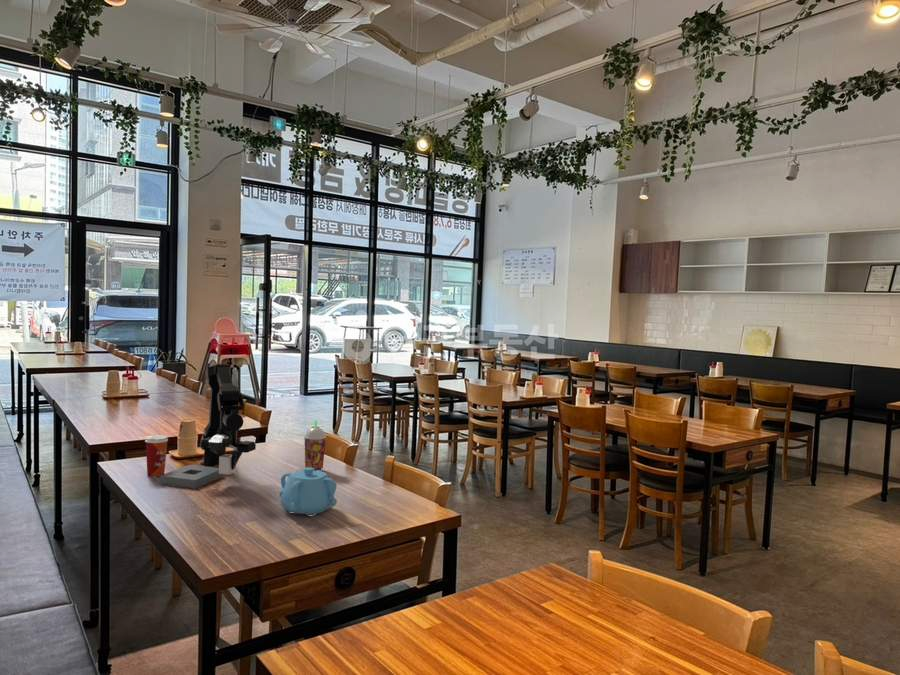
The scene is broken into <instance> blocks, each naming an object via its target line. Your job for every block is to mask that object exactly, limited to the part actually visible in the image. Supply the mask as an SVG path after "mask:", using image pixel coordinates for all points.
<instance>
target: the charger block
mask: <svg viewBox="0 0 900 675" xmlns="http://www.w3.org/2000/svg"><path fill="white" fill-rule="evenodd" d="M231 460H232V455H231V453H229V454H227V453H225V455H222V456H220V457H219V464H218V468H219V474H223V475H231V474H233V473H236V470H237V469H236V466H237V465H236V466H235V468H234V469H233V470H232V469H231Z"/></svg>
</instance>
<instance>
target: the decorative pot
mask: <svg viewBox="0 0 900 675" xmlns="http://www.w3.org/2000/svg"><path fill="white" fill-rule="evenodd" d="M286 477H288V479H287V480H286ZM280 485H281V488H282V490H281V491H279V493H278V494H279V498H280V504H281V506H282V507H283V509H284V510H285V511H287V512H289V511H290V512H294V513H293V514H301V515H307V514H308V515H314V514H316V515H317V514H321V513H323V512H325V511H326V510H329V508H330V507H334V506H336V504H337V503H338V501H337V499H336V498H335V493H336V490H337V483H336V481H335V480H334V479H333V478H331V477H329V475H328V473H326V472H324V471H323V470H317V471H314V468H311V467H307V468H305V467H304V468H303V469H302V470H301V469H300V470H299V471H295V472H293V473H292V472H286V473H284V474H283V475H282V476H281V478H280Z"/></svg>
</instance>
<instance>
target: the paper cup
mask: <svg viewBox="0 0 900 675" xmlns="http://www.w3.org/2000/svg"><path fill="white" fill-rule="evenodd" d="M144 442H145V447H146V449H145V450H146V452H145V453H146V454H145V455H146V473H147V474H146V475H147V477H150V476H158V477H160V475H163V474H165V470H166V462H167V460H166V459H167V450H168V442H169V438H168V436H167V435H162V434H161V435H160V434H156V435H149V436H146V438H145V440H144Z"/></svg>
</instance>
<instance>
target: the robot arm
mask: <svg viewBox="0 0 900 675" xmlns="http://www.w3.org/2000/svg"><path fill="white" fill-rule="evenodd" d="M231 369H232V368H231V366H230V364H228V363H216V364H214V365H211V366H210V365H209V366H208V367H207V368H206V369H205V379H206V381H207V383H208V385H209V387H210V394H209V397H210V398H209V414H208V423H207V424H206V426H205V427H204V428H203V434H201V435H202V436H201V439H200V441H199V442H200V444H199V445H200V446H199V447H200V449H201V450H202V451H203V461H202V462H200V465H202V466H203V465H204V466H210V467H216V466H219V457H220V456H222V455H225V454H226V450H227V448H231V449H233V450H231V451H229V454H230V455H232V460H231V469H232V470H233V469H234V468H235V466H237V464H238V461H239V460H240V458H241V456H242V455H243V453H246V454H247V453H250V452H252V451H254V450H256V448H257V447H256V446H257V445H256V443H255V442H254V441H249V440H244V441H241V442H239V441H240V438H238V431H239V430H240V429H241V428H242V427H243V425H244V418H243V417H242V416H241V415H240V414H239V411H244V407H245V402H244V396H243V395H242V392H240V389H239V387H238V386H237V385H234V383H233V380H232V373H231V372H232V370H231Z"/></svg>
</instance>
